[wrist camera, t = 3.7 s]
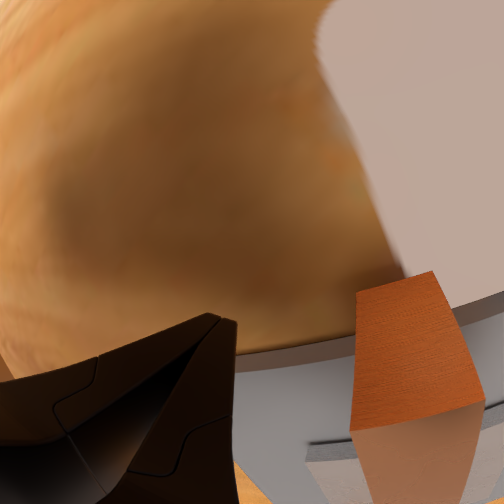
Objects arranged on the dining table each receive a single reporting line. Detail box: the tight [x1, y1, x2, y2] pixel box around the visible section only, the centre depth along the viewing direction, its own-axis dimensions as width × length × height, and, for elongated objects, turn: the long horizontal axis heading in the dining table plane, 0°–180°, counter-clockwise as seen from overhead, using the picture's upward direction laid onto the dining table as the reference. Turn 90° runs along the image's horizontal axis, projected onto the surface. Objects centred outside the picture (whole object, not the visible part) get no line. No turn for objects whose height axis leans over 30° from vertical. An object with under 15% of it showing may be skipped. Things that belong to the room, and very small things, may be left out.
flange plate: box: [305, 271, 504, 504], centre depth 8 cm, size 18×10×5 cm, turn 25°
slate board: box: [232, 291, 504, 504], centre depth 11 cm, size 20×20×4 cm
